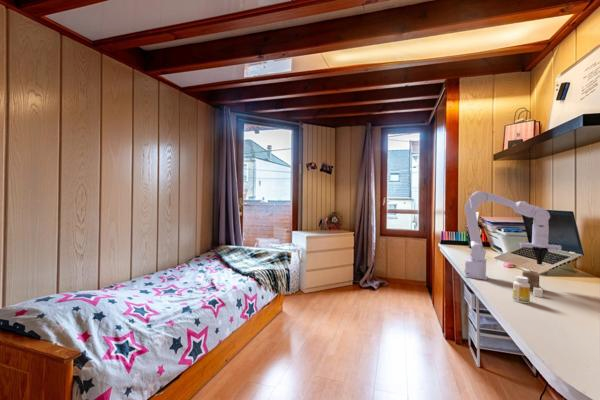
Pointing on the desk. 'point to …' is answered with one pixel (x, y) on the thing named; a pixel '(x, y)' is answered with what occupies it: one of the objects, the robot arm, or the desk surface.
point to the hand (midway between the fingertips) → (539, 264)
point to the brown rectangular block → (532, 278)
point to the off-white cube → (537, 292)
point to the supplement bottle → (521, 290)
